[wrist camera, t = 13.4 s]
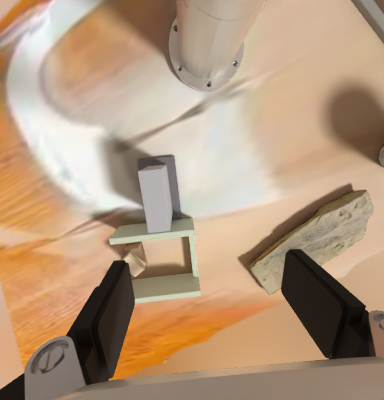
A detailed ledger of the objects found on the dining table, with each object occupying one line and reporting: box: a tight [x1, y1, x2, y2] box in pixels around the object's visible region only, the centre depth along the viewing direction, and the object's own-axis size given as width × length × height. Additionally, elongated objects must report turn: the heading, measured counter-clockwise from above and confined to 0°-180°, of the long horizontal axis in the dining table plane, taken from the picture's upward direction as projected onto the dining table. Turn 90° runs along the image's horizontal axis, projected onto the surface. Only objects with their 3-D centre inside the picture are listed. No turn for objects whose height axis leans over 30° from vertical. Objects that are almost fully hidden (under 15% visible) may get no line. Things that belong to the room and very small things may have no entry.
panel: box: [138, 156, 181, 219], centre depth 36 cm, size 13×7×1 cm, turn 5°
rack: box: [109, 218, 201, 303], centre depth 38 cm, size 15×16×6 cm
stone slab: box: [250, 190, 373, 295], centre depth 41 cm, size 12×4×30 cm
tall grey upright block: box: [138, 164, 173, 233], centre depth 32 cm, size 10×4×9 cm, turn 5°
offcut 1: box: [123, 241, 147, 271], centre depth 39 cm, size 6×3×3 cm, turn 10°
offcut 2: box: [121, 251, 146, 277], centre depth 37 cm, size 4×3×2 cm, turn 42°
